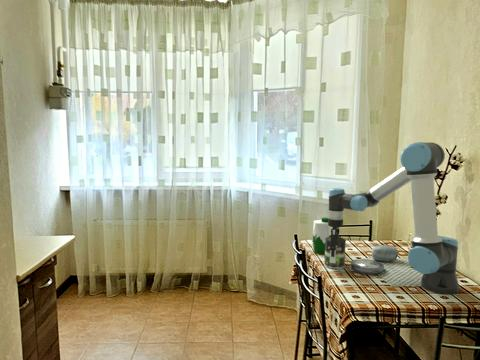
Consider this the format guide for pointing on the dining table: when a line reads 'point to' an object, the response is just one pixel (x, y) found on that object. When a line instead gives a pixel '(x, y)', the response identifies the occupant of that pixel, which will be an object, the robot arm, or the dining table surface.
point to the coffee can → (339, 253)
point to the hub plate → (367, 267)
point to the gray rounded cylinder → (384, 253)
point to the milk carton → (320, 235)
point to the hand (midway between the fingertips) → (334, 258)
